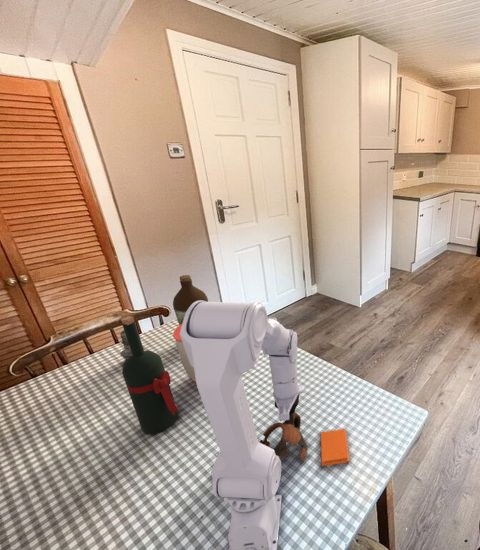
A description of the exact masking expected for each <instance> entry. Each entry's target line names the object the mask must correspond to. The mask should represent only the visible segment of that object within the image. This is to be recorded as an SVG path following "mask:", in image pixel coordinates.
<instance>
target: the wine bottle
mask: <svg viewBox="0 0 480 550" xmlns="http://www.w3.org/2000/svg"><path fill="white" fill-rule="evenodd" d="M120 321H121V324H122V328H123V329H124V330H123V331H125V334H126V337H127V340H128V343H129V346H130V349H131V352H132V355H131V356H130V357H129V358H128V359H125V360H126V361H124V362H123V365H122V370H121V373H122V377H123V379H124V383H125V386H126V388H127V391H128V394H129V397H130V400H131V403H132V405H133V409H134V411H135V414H136V417H137V421H138V423H139V426H140V429H141V431H142V432H143V433H144V434H146V436H147V435H154V436H155V435H158V434H160V433H163V432H166V431H167V430H168V429H170V428H171V427H173V426H174V425H175V424H176V422H177V421H178V419H179V412H180V409H179V408H178V406H177V404H176V401H175V399H174V395H173V392H172V389H171V386H170V385H171V384H172V383H171V382H172V379H171V376H170V372H169V371H167V370H166V369H165V366H164V362H163V359H162V357H161V355H160V354H158V353H156V352H154V351H152V350H145V348H144V346H143V342H142V339H141V337H140V334H139V333H140V332H139V330H138V327H137V324H136V321H135V317H134V316H130V315H127V316H124V317H123V318H121V319H120Z"/></svg>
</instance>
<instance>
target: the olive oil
mask: <svg viewBox="0 0 480 550" xmlns="http://www.w3.org/2000/svg"><path fill="white" fill-rule="evenodd" d="M179 283H180V289H179V290H178V292H177V293H175V296H174V297H173V300H172V307H173V308H172V309H173V312H174V314H175V317H176V320H177V323H178V326H179V325H181V324H182V323H183V320H184V316H185V313H186V312H187V310H188V308H189V307H190V306H191V305H192V304H193V303H194V302H196V301H199V300H203V301H206V302H209V298H208V296H207V294H206V293H205V291H203V290H201V289H200V288H198V287H197V286H195V285H193V280H192V278H191V275H190V274H183V275H180V276H179Z"/></svg>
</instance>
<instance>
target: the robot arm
mask: <svg viewBox="0 0 480 550" xmlns="http://www.w3.org/2000/svg"><path fill="white" fill-rule="evenodd" d="M180 337H181V340H182V342H183V345H184V348H185V351H186V353H187V356H188V359H189V362H190V365H191V366H192V367H194V371H195V378H196V384H195V385H196V387H197V390H198V393H199V396H200V399H201V402H202V405H203V406H204V407H203V408H204V410H205V413H206V416H207V418H208V421H209V423H210V426H211V429H212V432H213V435H214V437H215V440H216V442H217V446H218V449H219V451H220V452H219V453H218V455H217V456H216V458H215V461H214V463H213V466H212V469H211V472H210V475H211V477H212V480H211V481H212V482H211V490H212V492H213V495H214V497H215V498H217V499H221V498H223V501H224V503H226V504H229V508H230V526H229V530H228V535H227V540H228V545H229V547H228V550H278V541H279V531H280V530H279V529H280V520H281V510H282V509H281V507H282V498H283V497H282V495H281V494H276V493H277V492H278V488H279V486H280V482H281V474H282V461H281V459H280V457H278V456H276V454H275V451H274V450H273V449H274V448H271V447H270V446H269V447H268V446H266V445H263V444H261V443H260V441H259V438H258V435H257V431H256V427H255V424H254V420H253V419H254V418H253V416H252V412H251V408H250V404H249V400H248V397H247V394H246V389H245V385H244V382H243V378H242V375H243V374H245V373H247V372H248V371H250V370H252V369H254V368H255V366H256V363H257V359H258V358H259V356H260V352H261V349H262V354H263V355H264V356H266V355H268V362H269V367H270V368H269V369H270V375H271V383H272V388H273V391H272V396H273V399H274V402H273V403H274V407H275V409H277V410H278V417H279V418H278V419H279V422H285V421H286V420H289V415H290V414H291V413H296V409H297V407H298V405H299V402H300V394H301V395H302V394H303V393H304V389H305V388H304V385H301V384H300V385H299V379H298V369H297V357H298V334H297V331H294V330H293V329H291V328H289V329H287V328H285V327H284V326H283V324H281V323H280V322H279V321H278V319H277V318H276V317H270V316H268V312H267V308H266V306H265V305H264V304H263V303H262V302H261V301H254V302H233V301H231V302H229V301H228V302H227V301H226V302H225V301H208V302H206V301H203V300H199V301H196V302H194V303H193V304H192V305H191V306H190V307H189V308H188V310H187V312H186V313H185V316H184V320H183V323H182V327H181V331H180Z"/></svg>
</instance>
